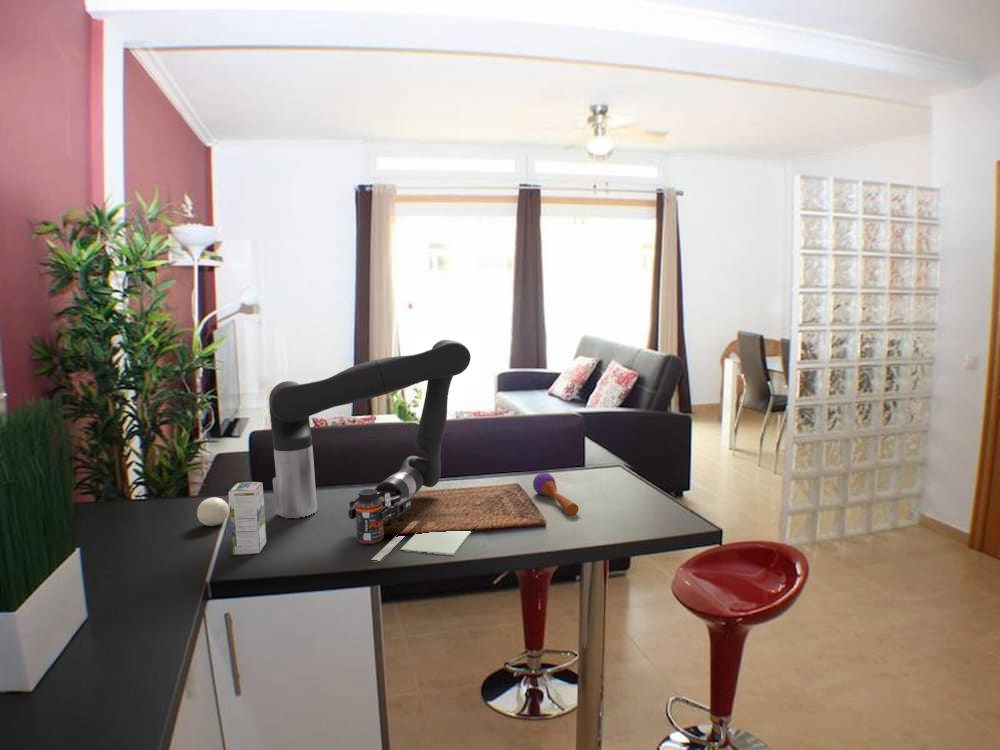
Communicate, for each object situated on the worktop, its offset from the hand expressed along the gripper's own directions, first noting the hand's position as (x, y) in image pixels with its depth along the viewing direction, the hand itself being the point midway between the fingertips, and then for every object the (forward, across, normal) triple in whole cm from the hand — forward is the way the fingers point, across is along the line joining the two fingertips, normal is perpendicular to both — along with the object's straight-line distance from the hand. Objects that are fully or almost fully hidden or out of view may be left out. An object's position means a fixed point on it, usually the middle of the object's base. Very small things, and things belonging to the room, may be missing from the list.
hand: (364, 516), depth 144 cm
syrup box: (+8, -24, +7) cm, 26 cm away
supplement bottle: (-2, 0, +7) cm, 7 cm away
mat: (-6, +15, +6) cm, 18 cm away
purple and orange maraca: (-34, +36, +7) cm, 50 cm away
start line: (-3, +6, +6) cm, 9 cm away
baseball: (-3, -42, +7) cm, 43 cm away
